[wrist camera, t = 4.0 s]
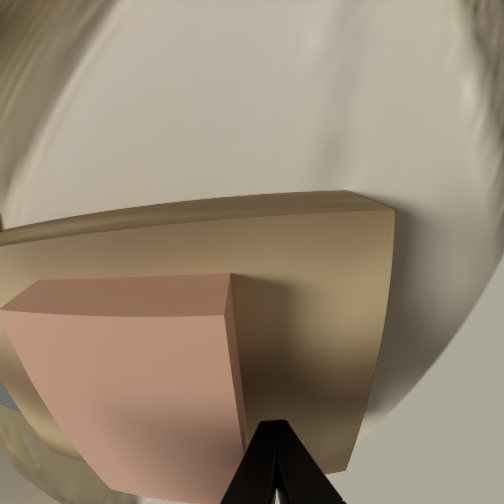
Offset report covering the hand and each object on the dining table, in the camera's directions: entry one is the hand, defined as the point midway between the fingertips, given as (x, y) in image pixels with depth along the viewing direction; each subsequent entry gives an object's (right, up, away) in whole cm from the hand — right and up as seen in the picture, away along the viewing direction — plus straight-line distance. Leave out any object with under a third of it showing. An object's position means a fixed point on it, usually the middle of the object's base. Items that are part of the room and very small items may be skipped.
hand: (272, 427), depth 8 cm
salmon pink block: (-4, 0, +1) cm, 4 cm away
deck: (-5, +1, +5) cm, 7 cm away
